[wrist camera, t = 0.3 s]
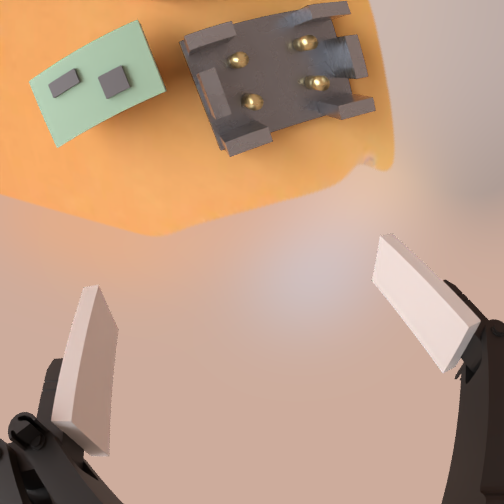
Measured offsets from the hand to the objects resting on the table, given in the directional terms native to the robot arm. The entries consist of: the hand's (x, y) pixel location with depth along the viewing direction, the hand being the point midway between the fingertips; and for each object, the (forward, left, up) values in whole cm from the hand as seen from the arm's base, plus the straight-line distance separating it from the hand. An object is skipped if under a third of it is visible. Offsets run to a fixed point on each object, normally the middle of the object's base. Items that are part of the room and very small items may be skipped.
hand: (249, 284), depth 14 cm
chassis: (-7, +11, -27) cm, 29 cm away
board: (-13, -7, -22) cm, 26 cm away
